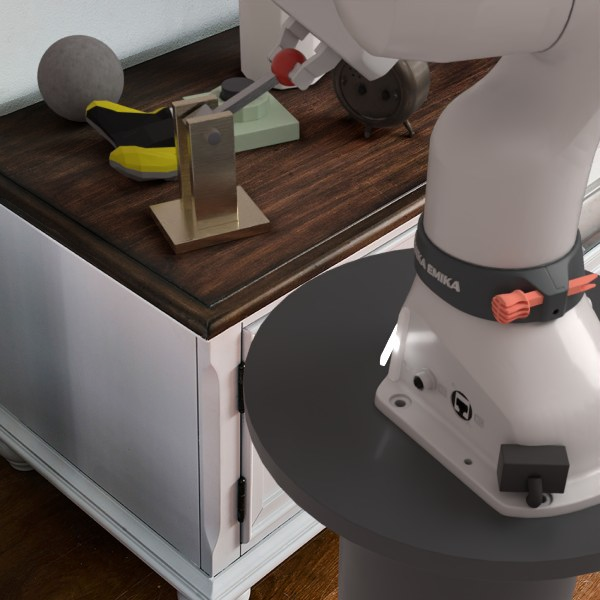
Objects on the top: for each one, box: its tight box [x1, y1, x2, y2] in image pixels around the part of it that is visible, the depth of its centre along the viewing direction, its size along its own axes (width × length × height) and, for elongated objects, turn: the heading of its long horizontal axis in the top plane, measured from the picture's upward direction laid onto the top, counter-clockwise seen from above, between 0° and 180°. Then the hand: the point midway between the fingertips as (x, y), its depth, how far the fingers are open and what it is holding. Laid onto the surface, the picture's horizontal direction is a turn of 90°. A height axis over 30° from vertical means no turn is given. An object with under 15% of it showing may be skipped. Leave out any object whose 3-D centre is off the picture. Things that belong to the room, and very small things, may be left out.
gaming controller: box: [86, 101, 178, 182], centre depth 114 cm, size 15×6×10 cm
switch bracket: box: [149, 94, 271, 255], centre depth 101 cm, size 10×8×13 cm
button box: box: [182, 85, 300, 154], centre depth 121 cm, size 12×10×4 cm
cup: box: [238, 0, 325, 91], centre depth 130 cm, size 11×11×18 cm
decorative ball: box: [36, 34, 125, 123], centre depth 122 cm, size 10×10×10 cm
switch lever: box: [182, 48, 307, 126], centre depth 99 cm, size 13×4×4 cm, turn 115°
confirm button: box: [220, 77, 254, 102], centre depth 120 cm, size 4×4×2 cm
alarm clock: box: [331, 59, 432, 139], centre depth 117 cm, size 11×5×16 cm, turn 59°
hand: (284, 74), depth 99 cm, fingers closed on switch lever, 3 cm apart
